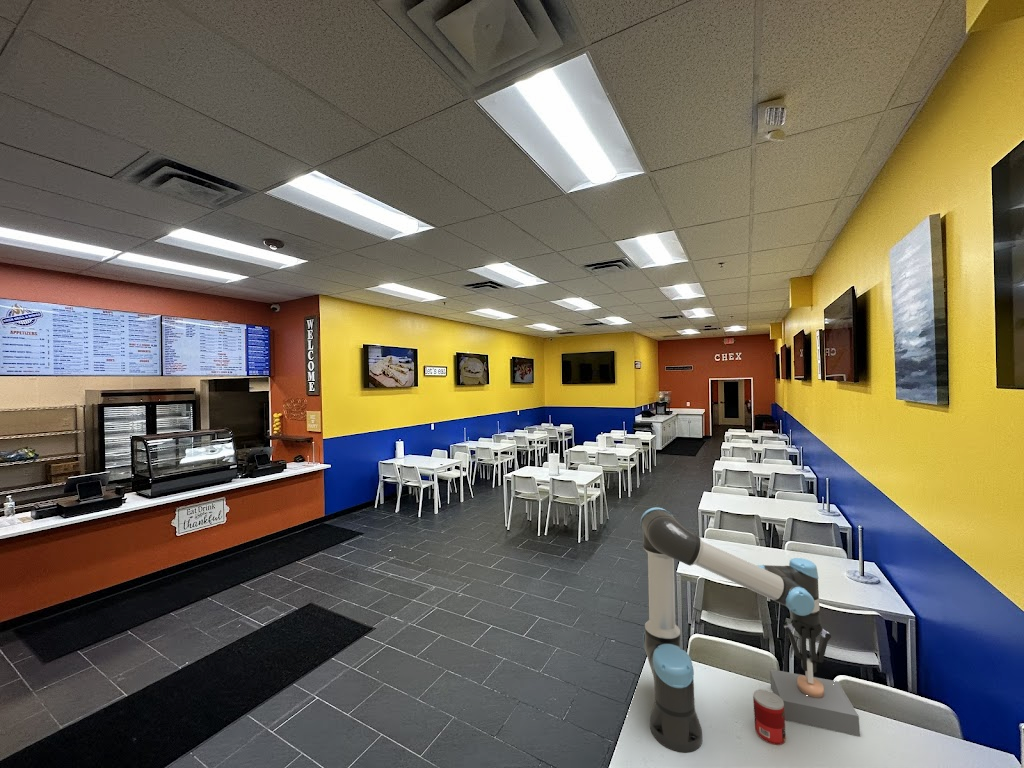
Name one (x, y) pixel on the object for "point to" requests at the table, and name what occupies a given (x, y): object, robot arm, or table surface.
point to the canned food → (769, 716)
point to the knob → (810, 687)
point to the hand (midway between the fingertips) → (809, 680)
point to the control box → (816, 704)
